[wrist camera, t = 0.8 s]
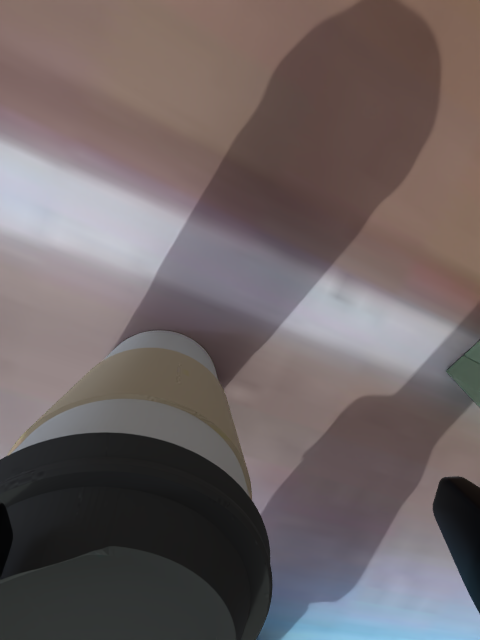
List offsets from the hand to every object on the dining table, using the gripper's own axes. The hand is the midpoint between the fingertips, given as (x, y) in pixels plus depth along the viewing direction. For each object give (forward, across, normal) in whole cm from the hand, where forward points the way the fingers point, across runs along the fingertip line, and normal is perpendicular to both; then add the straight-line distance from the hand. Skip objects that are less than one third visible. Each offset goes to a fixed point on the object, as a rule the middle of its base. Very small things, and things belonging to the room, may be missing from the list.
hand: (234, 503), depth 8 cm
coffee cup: (+14, +3, +6) cm, 16 cm away
